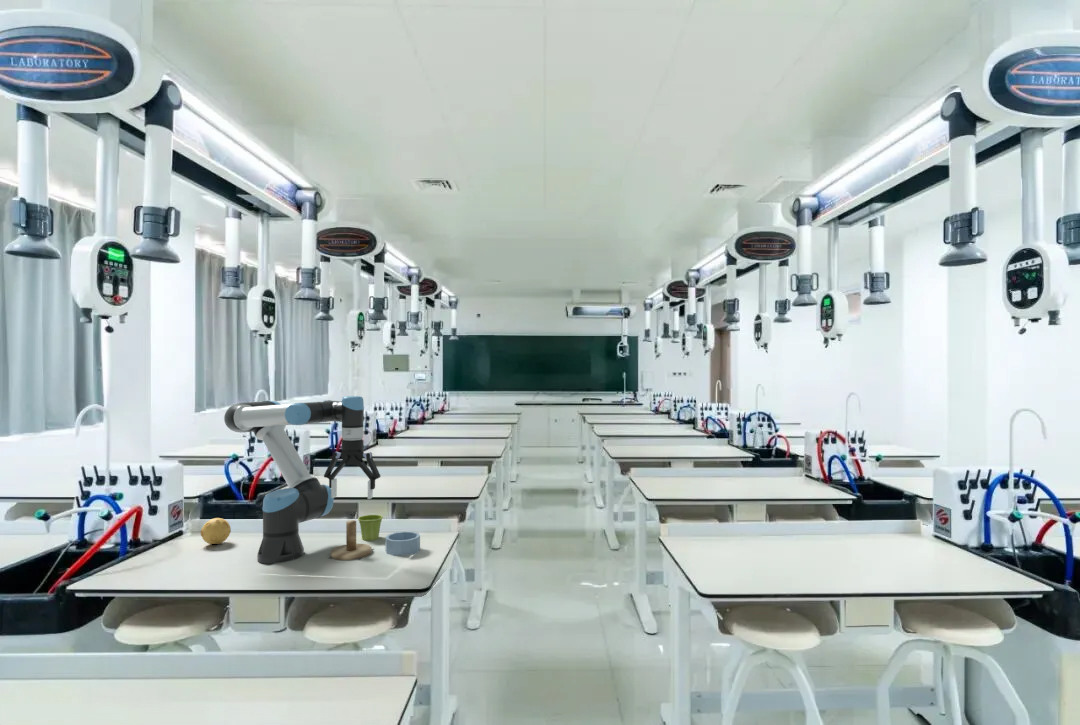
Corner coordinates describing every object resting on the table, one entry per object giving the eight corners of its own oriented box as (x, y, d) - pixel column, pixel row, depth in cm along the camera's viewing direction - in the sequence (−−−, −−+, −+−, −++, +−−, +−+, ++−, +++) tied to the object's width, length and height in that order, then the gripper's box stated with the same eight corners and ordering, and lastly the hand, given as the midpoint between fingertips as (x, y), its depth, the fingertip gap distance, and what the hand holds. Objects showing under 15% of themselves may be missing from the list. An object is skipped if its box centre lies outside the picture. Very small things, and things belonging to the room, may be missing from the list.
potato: (210, 543, 225) (190, 532, 219) (228, 521, 230) (209, 509, 223) (222, 552, 220) (202, 541, 213) (240, 529, 224) (221, 517, 217)
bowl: (380, 555, 206) (380, 540, 206) (393, 545, 218) (393, 531, 218) (413, 557, 205) (413, 541, 205) (423, 546, 217) (423, 532, 217)
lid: (323, 559, 201) (323, 526, 202) (341, 547, 215) (341, 516, 215) (361, 560, 200) (361, 527, 200) (377, 548, 214) (377, 517, 214)
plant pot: (364, 535, 232) (364, 514, 232) (386, 536, 230) (386, 514, 231) (353, 542, 222) (353, 520, 223) (376, 543, 221) (376, 520, 221)
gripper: (314, 439, 206) (313, 499, 206) (382, 441, 203) (381, 501, 203) (324, 437, 213) (323, 494, 213) (389, 438, 211) (389, 496, 211)
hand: (351, 497), depth 208 cm, fingers open, 13 cm apart
